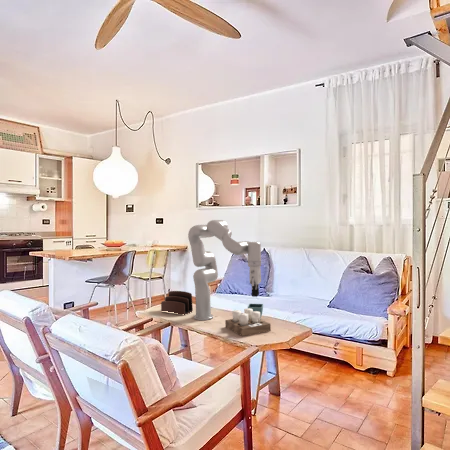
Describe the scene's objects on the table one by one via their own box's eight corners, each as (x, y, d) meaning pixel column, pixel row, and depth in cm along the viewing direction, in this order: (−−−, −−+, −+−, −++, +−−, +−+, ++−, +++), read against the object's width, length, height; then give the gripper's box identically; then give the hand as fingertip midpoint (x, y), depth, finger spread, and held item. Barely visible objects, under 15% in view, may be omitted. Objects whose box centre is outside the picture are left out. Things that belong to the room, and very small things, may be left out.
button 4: (250, 322, 199) (249, 312, 199) (257, 321, 202) (257, 310, 202) (254, 324, 195) (254, 314, 195) (262, 323, 197) (261, 312, 197)
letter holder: (169, 309, 250) (169, 289, 249) (193, 312, 240) (192, 291, 240) (161, 312, 241) (160, 292, 241) (184, 315, 232) (184, 294, 231)
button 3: (243, 319, 206) (242, 309, 206) (250, 317, 209) (249, 308, 209) (247, 321, 202) (247, 311, 202) (254, 319, 204) (254, 309, 204)
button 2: (237, 324, 196) (237, 314, 196) (245, 323, 198) (245, 312, 198) (242, 327, 191) (242, 316, 191) (250, 325, 193) (249, 314, 193)
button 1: (231, 321, 203) (230, 311, 203) (238, 320, 205) (238, 309, 205) (235, 323, 198) (235, 313, 198) (242, 322, 201) (242, 311, 201)
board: (225, 326, 204) (225, 320, 204) (251, 322, 212) (251, 315, 212) (242, 336, 186) (242, 329, 186) (270, 330, 194) (270, 323, 194)
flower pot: (262, 322, 212) (261, 307, 212) (247, 321, 214) (247, 306, 214) (263, 317, 221) (263, 303, 220) (249, 317, 222) (249, 303, 222)
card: (247, 325, 192) (247, 324, 192) (258, 323, 195) (258, 322, 195) (251, 327, 189) (251, 326, 189) (262, 325, 192) (262, 324, 192)
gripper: (258, 265, 189) (258, 299, 189) (263, 261, 205) (264, 293, 205) (244, 265, 191) (245, 298, 191) (251, 261, 207) (252, 292, 207)
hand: (255, 295), depth 198 cm, fingers open, 3 cm apart
